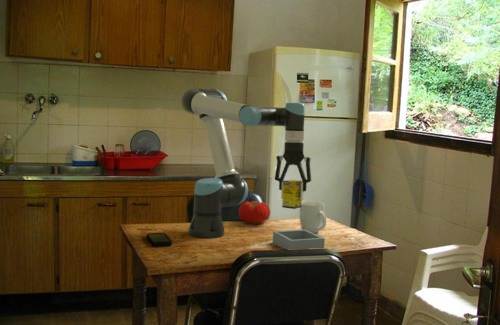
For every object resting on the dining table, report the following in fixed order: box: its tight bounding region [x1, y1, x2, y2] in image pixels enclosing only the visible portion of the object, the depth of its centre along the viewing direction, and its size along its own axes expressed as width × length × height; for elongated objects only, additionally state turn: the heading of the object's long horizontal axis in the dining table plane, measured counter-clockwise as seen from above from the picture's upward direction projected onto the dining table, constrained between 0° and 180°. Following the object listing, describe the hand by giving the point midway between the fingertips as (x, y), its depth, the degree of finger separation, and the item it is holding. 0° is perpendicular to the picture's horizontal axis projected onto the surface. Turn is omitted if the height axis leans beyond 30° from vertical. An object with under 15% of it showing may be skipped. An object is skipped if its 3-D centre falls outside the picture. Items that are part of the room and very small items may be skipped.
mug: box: [299, 200, 327, 234], centre depth 247 cm, size 15×11×13 cm
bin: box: [272, 229, 326, 250], centre depth 223 cm, size 15×15×5 cm
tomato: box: [238, 200, 271, 225], centre depth 262 cm, size 14×16×10 cm
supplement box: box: [281, 179, 303, 210], centre depth 221 cm, size 6×6×11 cm
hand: (292, 198), depth 221 cm, fingers closed on supplement box, 7 cm apart
